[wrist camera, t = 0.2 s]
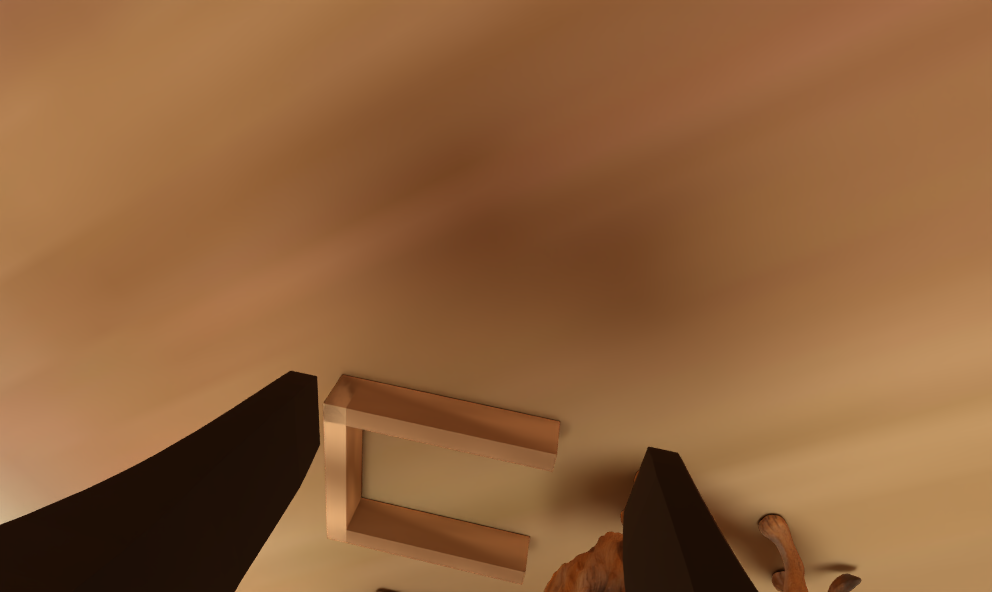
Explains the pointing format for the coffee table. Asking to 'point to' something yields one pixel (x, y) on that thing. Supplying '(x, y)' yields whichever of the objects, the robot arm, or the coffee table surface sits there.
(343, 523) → the wooden frame
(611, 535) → the lion figurine
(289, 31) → the coffee table surface
